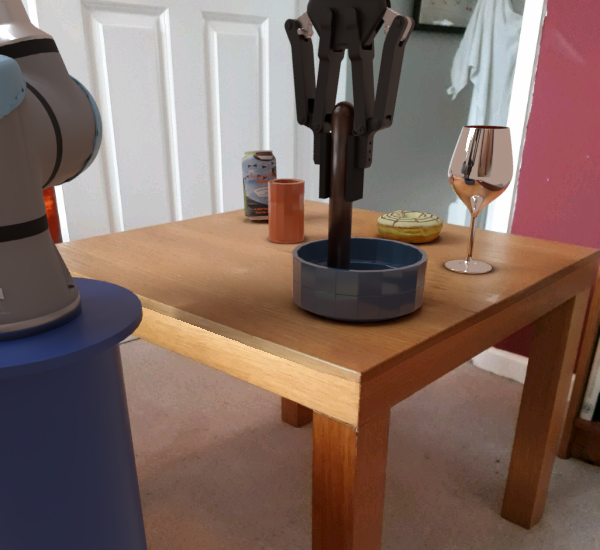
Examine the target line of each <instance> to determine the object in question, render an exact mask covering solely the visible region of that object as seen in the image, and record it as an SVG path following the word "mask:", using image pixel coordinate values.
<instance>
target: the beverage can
mask: <svg viewBox="0 0 600 550" xmlns="http://www.w3.org/2000/svg"><path fill="white" fill-rule="evenodd" d="M241 170H242V171H241V172H242V173H241V174H242V190H243V207H244V208H243V209H244V216H245V217H246V218H248V220H250V221H261V220H262V221H263V220H269V216H268V181H269V180H273V179H278V177H277V176H278V175H277V174H278V172H277V158H276V156H275V155H274V153H273V150H272V149H271V150H269V149H267V150H266V149H263V150H262V149H261V150H246V151H244V154H243V156H242V158H241Z"/></svg>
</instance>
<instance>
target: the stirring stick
mask: <svg viewBox="0 0 600 550" xmlns="http://www.w3.org/2000/svg"><path fill="white" fill-rule="evenodd" d="M352 130H355V118H354V103H352V102H350V101H347V100H341V101H339V102H337V103H336V104H335V106H334V108H333V110H332V119H331V131H330V133H331V153H330V186H329V198H328V219H327V220H328V222H327V223H328V224H327V238H328V253H327V267H330V268H336V269H346V270H349V269H350V250H351V237H352V228H353V227H352V226H353V207H354V206H353V205H354V204H353V203H354V202H346V201H345V196H346V172H347V148H348V136H350V135H354V134H353V133H352Z"/></svg>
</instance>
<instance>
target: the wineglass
mask: <svg viewBox="0 0 600 550" xmlns="http://www.w3.org/2000/svg"><path fill="white" fill-rule="evenodd" d="M456 141H457V142H456V144H455V147H454V149H453V153H452V155H451V159H450V161H449V165H448V169H447V181H448V184H449V186H450V188H451V190H452V192H453V193H454V194H455V195H456V196H457V198H458V199H459V200H460V201H461V202H462V203H463V205H464V206H466V208H467V210H468V211H469V213H470V224H469V231H468V233H469V234H468V239H467V246H466V253H465V257H464V259H452V260H448V261H446V262H445V264H444V267H445V269H447V270H449V271H452V272H455V273H460V274H467V275H478V274H479V275H481V274H486V273H489V272H491V271H492V269H493V267H492V265H490V264H489V263H488V262H484V261H480V260H475V259H474V260H473V255H474V254H473V253H474V245H475V236H476V231H477V230H476V229H477V222H478V217H479V215H480V213H481V212H482V211H483V210H484V209H485V208H486V207H487V206H489V204H491V203H492V202H494V201H495V200H497V199H498V198H499V197H500V196H501V195H503V193H504V192H506V190H507V189H508V187H510V184H511V182H512V180H513V176H514V158H513V157H514V156H513V145H512V135H511V129H510V127H509V126H502V125H488V124H487V125H481V124H480V125H479V124H478V125H477V124H476V125H475V124H473V125H463V126H462V128H461V130H460V133H459V135H458V139H457V140H456Z"/></svg>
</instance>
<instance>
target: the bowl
mask: <svg viewBox="0 0 600 550" xmlns="http://www.w3.org/2000/svg"><path fill="white" fill-rule="evenodd" d="M327 253H328V237H327V238H320V239H315V240H309V241H306V242H304V243H300V244H298V245H296V246H295V247H294V248H293V249H292V250H291V298H292V302H293V303H294V304H296V305H297V306H298V307H300V309H302V310H305V311H308V312H310V313H313V314H314V315H317V316H319V317H322V318H327V319H330V320H336V321H342V322H353V323H368V322H369V323H373V322H382V321H388V320H393V319H396V318H399V317H402V316H405V315H408V314H411V313H414V312H415V311H417V310H418V309H420V308H421V307H422V306H423V304H424V299H425V290H426V289H425V288H426V280H427V271H428V270H427V269H428V260H429V254H428V253H427V252H426V251H425V250H424V249H423V248H421V247H419V246H417V245H415V244H412V243H404V242H400V241H395V240H389V239H385V238H382V237H381V238H380V237H365V236H351V250H350V269H349V270H346V269H336V268H330V267H327Z"/></svg>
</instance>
